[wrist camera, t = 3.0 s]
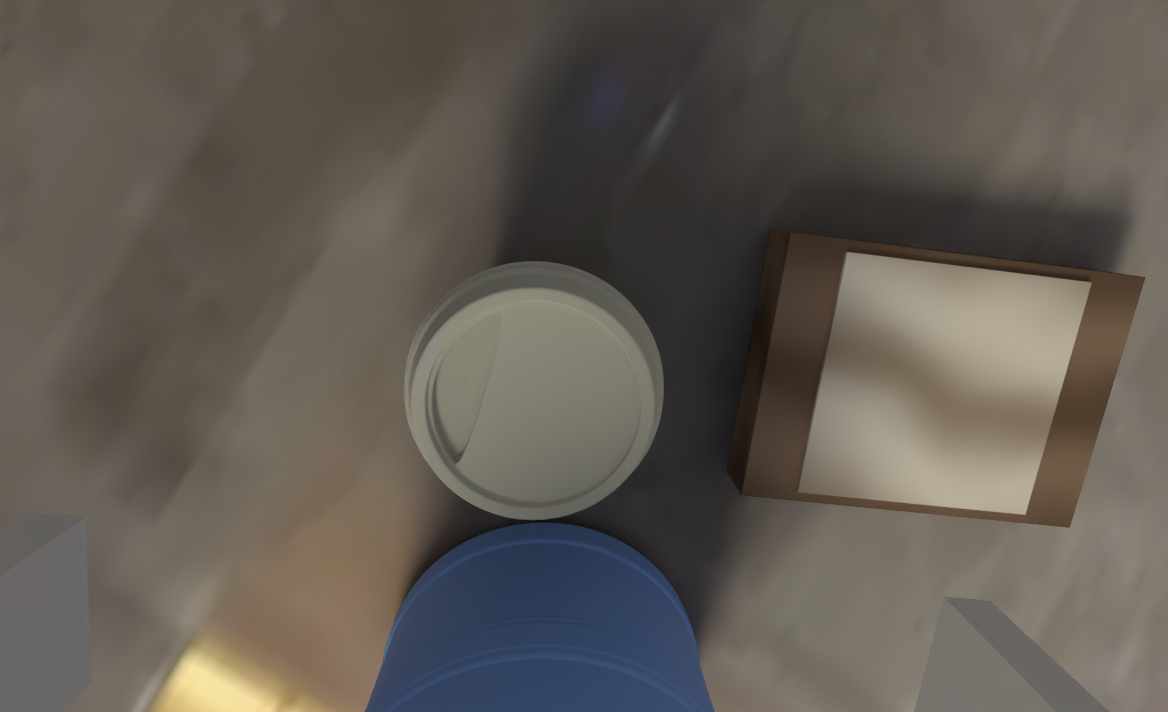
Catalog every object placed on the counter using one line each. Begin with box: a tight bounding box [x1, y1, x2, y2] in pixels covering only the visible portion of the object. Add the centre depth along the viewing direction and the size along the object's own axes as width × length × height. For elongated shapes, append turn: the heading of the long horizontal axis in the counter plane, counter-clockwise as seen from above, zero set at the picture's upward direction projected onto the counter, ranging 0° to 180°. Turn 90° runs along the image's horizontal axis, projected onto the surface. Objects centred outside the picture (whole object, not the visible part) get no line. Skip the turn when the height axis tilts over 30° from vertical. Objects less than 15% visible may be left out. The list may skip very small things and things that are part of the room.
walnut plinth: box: [727, 229, 1145, 528], centre depth 33 cm, size 12×16×3 cm
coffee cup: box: [404, 261, 664, 520], centre depth 27 cm, size 9×8×12 cm
